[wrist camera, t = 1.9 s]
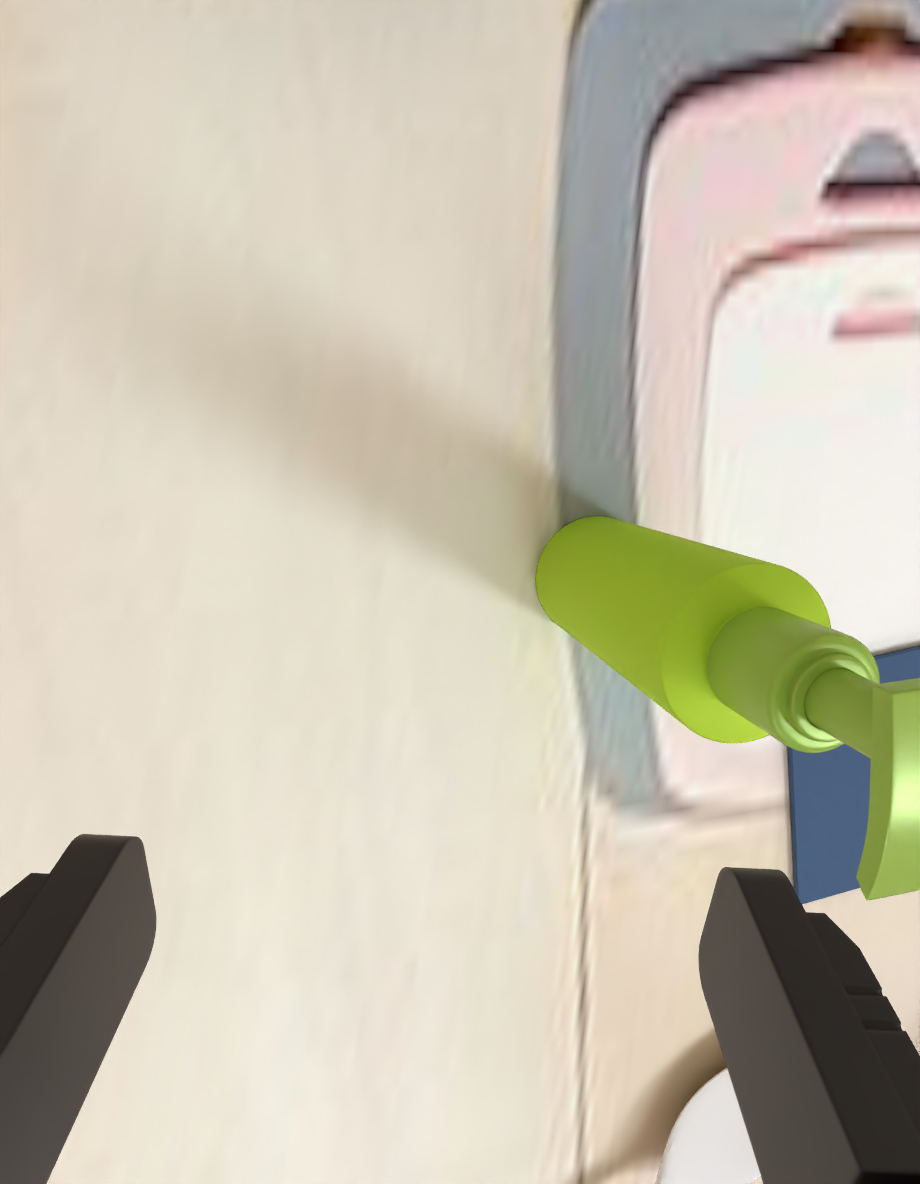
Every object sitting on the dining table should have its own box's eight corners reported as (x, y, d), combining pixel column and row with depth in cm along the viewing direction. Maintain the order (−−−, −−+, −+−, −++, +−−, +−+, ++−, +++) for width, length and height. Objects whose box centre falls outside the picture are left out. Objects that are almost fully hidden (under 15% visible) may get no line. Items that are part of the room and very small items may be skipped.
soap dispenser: (538, 661, 35) (803, 931, 16) (532, 521, 34) (818, 636, 14) (650, 647, 36) (1024, 885, 17) (649, 510, 35) (1060, 605, 15)
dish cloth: (784, 676, 38) (789, 679, 38) (977, 631, 40) (984, 633, 40) (794, 901, 42) (798, 905, 41) (972, 850, 43) (978, 853, 43)
